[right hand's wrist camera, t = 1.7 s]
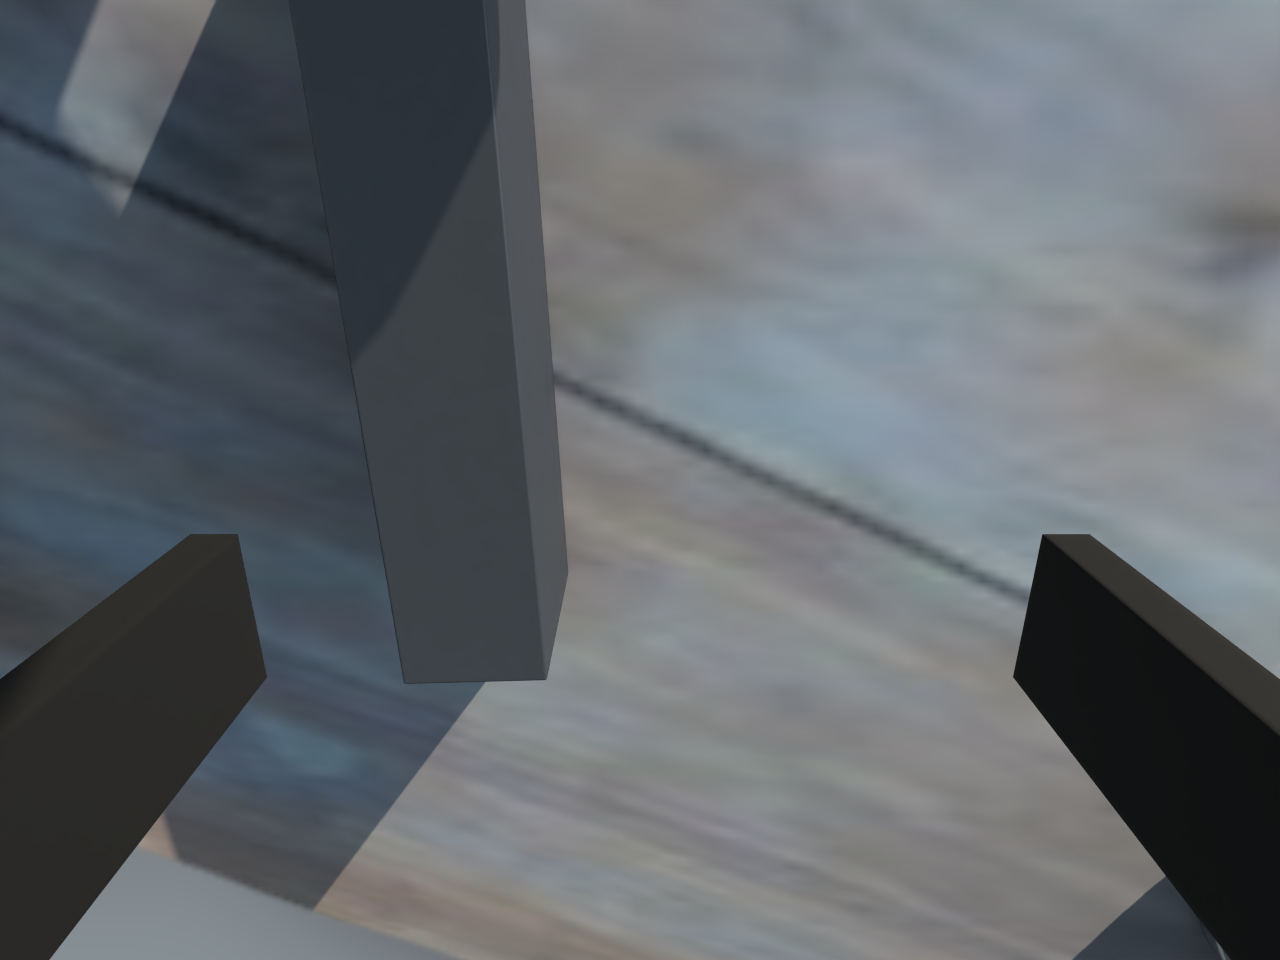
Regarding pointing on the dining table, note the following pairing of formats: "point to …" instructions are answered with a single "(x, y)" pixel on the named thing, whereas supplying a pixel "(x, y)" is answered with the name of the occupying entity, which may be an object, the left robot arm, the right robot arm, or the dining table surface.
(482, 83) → the beam
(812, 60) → the dining table surface
